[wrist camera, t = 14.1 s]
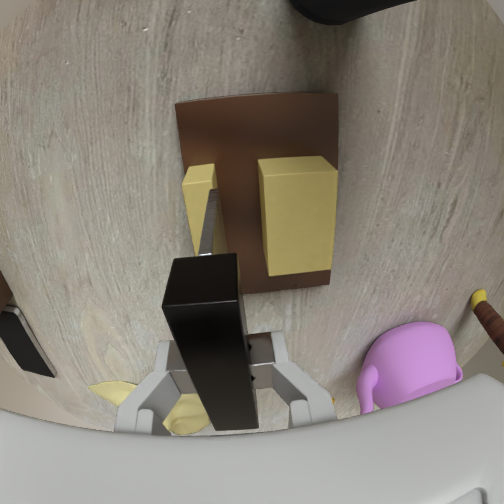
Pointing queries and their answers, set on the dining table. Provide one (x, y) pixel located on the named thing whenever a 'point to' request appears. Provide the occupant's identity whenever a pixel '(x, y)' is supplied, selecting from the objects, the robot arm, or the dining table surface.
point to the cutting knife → (213, 325)
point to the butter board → (256, 163)
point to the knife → (488, 318)
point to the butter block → (297, 213)
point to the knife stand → (4, 293)
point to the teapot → (407, 365)
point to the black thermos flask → (341, 9)
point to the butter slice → (198, 197)
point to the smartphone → (23, 343)
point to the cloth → (180, 417)
